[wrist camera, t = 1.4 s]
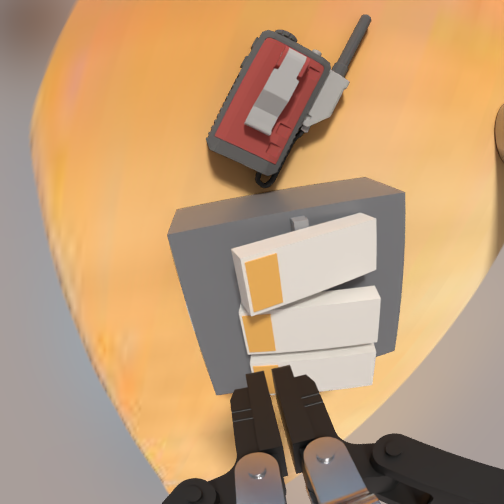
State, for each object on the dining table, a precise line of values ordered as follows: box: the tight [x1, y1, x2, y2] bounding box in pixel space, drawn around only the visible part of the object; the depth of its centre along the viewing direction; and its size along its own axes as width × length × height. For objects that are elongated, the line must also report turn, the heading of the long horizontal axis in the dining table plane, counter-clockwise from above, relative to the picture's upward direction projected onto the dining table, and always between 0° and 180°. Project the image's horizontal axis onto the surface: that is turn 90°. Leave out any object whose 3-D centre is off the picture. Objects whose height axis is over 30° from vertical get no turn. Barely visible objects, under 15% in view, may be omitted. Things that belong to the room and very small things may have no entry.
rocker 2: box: [250, 343, 376, 395], centre depth 25 cm, size 10×4×2 cm, turn 99°
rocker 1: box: [239, 286, 381, 355], centre depth 23 cm, size 10×4×2 cm, turn 99°
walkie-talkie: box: [206, 15, 371, 188], centre depth 23 cm, size 9×4×20 cm
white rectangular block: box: [231, 213, 377, 316], centre depth 21 cm, size 10×4×2 cm, turn 99°
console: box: [167, 177, 405, 395], centre depth 28 cm, size 18×16×8 cm
